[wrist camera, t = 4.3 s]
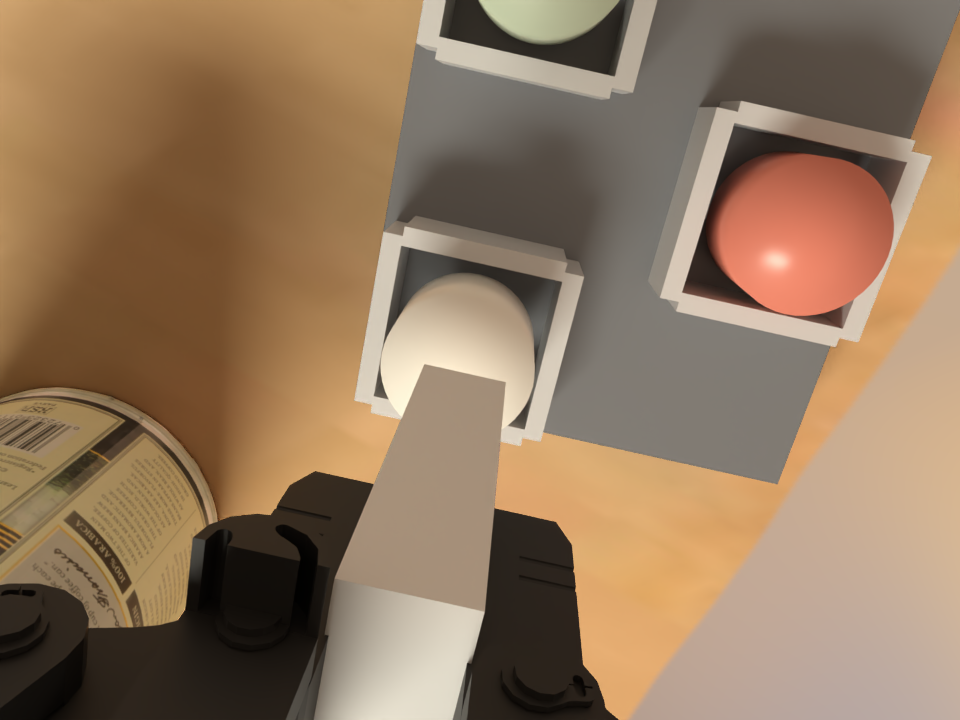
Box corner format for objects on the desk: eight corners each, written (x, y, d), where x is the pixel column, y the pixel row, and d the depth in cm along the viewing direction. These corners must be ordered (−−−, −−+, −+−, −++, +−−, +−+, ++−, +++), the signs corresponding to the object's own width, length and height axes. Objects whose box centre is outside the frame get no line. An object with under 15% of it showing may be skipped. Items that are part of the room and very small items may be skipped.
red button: (688, 274, 20) (709, 297, 18) (731, 137, 19) (760, 141, 17) (820, 304, 20) (858, 330, 18) (870, 168, 19) (919, 177, 17)
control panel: (374, 359, 26) (340, 416, 21) (465, -148, 21) (447, -223, 16) (749, 442, 26) (799, 518, 21) (925, -41, 21) (1042, -85, 16)
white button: (386, 387, 21) (369, 423, 18) (411, 258, 19) (395, 279, 17) (516, 415, 21) (515, 455, 18) (548, 289, 19) (551, 314, 17)
